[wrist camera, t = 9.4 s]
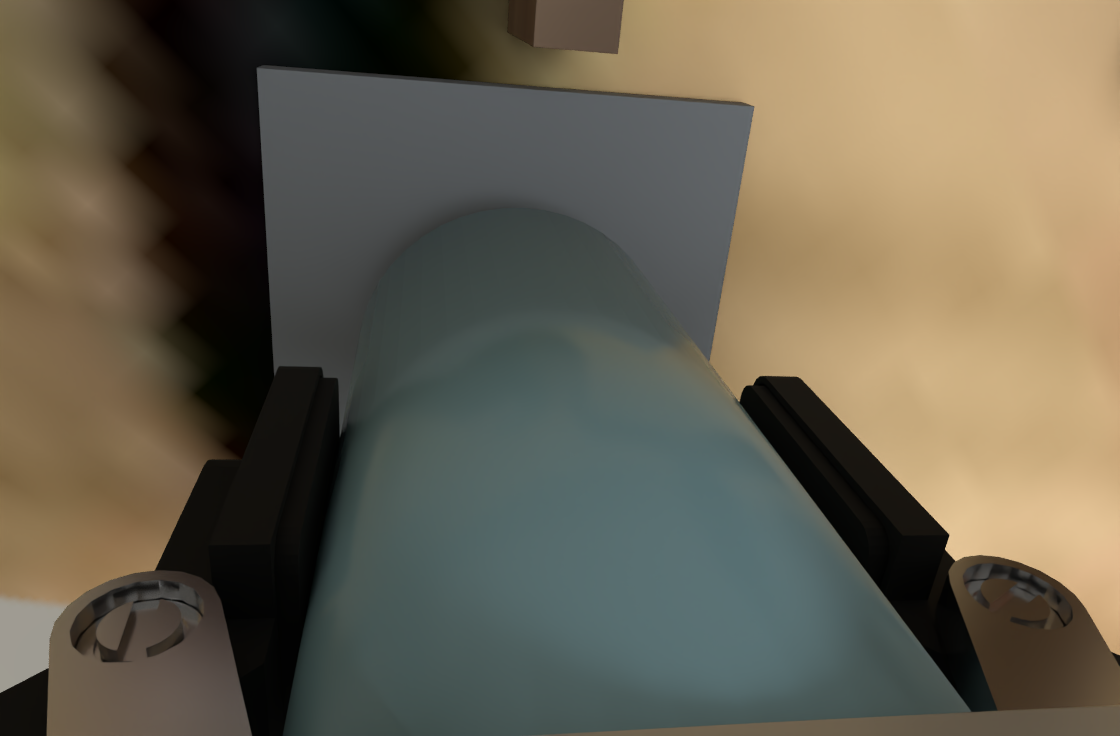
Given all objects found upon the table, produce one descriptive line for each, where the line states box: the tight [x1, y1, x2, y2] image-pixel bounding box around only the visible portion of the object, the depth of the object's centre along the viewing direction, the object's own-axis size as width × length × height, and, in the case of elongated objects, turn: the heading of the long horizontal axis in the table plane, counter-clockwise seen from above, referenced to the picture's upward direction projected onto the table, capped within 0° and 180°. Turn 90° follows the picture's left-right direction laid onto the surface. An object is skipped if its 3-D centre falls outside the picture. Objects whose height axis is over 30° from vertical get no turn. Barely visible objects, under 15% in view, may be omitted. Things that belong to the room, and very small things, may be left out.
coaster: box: [257, 65, 754, 434], centre depth 17 cm, size 9×9×1 cm
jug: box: [283, 208, 971, 736], centre depth 10 cm, size 8×6×12 cm
